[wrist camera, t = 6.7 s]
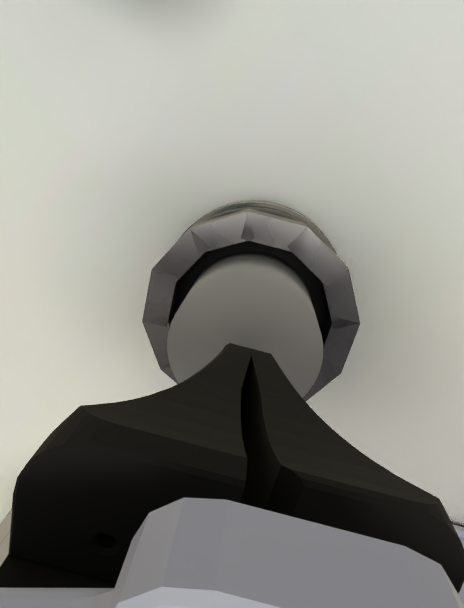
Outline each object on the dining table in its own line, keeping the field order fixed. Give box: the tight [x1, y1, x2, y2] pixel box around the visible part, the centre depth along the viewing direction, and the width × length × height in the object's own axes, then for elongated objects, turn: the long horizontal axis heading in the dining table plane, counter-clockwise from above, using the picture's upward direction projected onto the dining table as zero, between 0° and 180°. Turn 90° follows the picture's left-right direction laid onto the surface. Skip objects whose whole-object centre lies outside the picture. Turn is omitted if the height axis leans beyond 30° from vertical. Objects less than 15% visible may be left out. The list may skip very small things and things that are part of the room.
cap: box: [167, 250, 323, 398], centre depth 15 cm, size 5×5×4 cm
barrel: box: [142, 201, 360, 402], centre depth 18 cm, size 8×8×5 cm
